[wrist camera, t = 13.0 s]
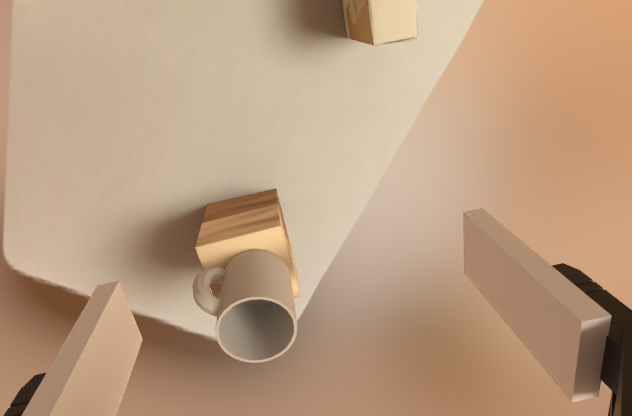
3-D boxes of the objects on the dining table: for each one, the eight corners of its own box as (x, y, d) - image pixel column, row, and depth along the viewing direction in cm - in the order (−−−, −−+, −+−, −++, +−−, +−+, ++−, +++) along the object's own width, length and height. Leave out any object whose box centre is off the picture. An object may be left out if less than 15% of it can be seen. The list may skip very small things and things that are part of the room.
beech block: (201, 223, 50) (195, 247, 45) (277, 203, 50) (280, 225, 45) (225, 286, 54) (221, 316, 48) (295, 268, 54) (300, 296, 49)
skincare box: (338, -21, 47) (364, -34, 36) (377, -28, 48) (415, -43, 37) (346, 42, 50) (373, 47, 39) (383, 35, 50) (420, 38, 39)
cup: (274, 312, 49) (278, 370, 41) (187, 286, 46) (173, 342, 38) (301, 260, 47) (310, 310, 39) (211, 229, 44) (201, 276, 36)
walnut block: (207, 204, 56) (202, 224, 50) (276, 188, 56) (278, 206, 51) (226, 263, 59) (223, 288, 54) (291, 248, 60) (294, 271, 54)
